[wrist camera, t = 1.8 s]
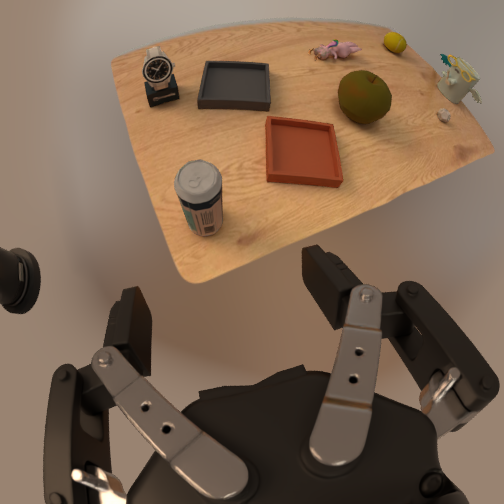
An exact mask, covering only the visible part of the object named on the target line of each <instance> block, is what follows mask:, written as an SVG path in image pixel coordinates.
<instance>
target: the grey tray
mask: <svg viewBox="0 0 504 504" xmlns="http://www.w3.org/2000/svg"><path fill="white" fill-rule="evenodd" d="M270 104H271V98H270V80H269V64H267V63H266V64H265V63H255V62H239V61H206V63H205V67H204V71H203V76H202V80H201V85H200V90H199V95H198V109H242V110H258V111H269V108H270Z"/></svg>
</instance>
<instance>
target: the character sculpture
mask: <svg viewBox="0 0 504 504" xmlns="http://www.w3.org/2000/svg"><path fill="white" fill-rule="evenodd" d="M440 55H441V56H442V58H441V59H442V60H443V63H445V64H446V65H447V64H448V65H449V67H450V68H449V70H448V71H447V72H444V71H443V72H442V73H443V75H444V76H443V77H442V79H441V80H440V81H439V82H438V84H437V86H438V88H439V90H440V91H441V93H442V94H443V95H444V96H445V97H446V98H447V99H448V100H450V101H451V102H453V103H455V104H458V103H459V102H460V101H461V100H462V99H463V98H464V97H465V95H466V94H467V93H468V92H469V91H470V92H471V93H472V95H473V97H474V98H475V100H476V101H477V103H478V102H479V101H480V103H482V101H481V98H480V95H479V93H478V92H477V90H475V89H472V88H473V87H474V85H475V84H476V83H477V82H478V81H479V80H480V77H479V75H478V73H477V72H476V71H475V70H474V69H473V67H472V66H470V65H469V64H468V63H467V62H466V61H464V60H463V59H462V58H459V57H458V58H456V57H454V56H452V55H449V56H448V57H447V56H446V55H444V54H440ZM450 57H452V58H454V59H455V62H454V63H453V64H452V63H451V62H450V59H449V58H450ZM451 64H452V65H451Z"/></svg>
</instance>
